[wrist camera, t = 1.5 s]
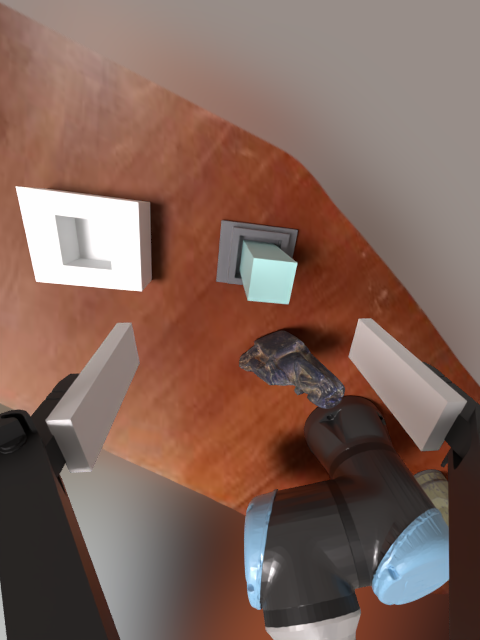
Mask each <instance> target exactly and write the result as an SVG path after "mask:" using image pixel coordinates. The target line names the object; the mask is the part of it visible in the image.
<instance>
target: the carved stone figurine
mask: <svg viewBox="0 0 480 640" xmlns="http://www.w3.org/2000/svg"><path fill="white" fill-rule="evenodd" d="M254 343H255V345H254V346H253V347H252V348H251V349H249V350H248V351H247V352H246V353H245V354H243V355H242V356H241V357H240V360H239V367H241V368H242V369H244V370H246V371H252V372H254V373H255V374H256V375H257V376H258V377H259V378H261V379H262V380H264V381H265V382H266V383H268V384H269V385H283V386H284V385H294V386H296V387H295V390H294V391H295V393H296V394H297V395H300V394H303V393H306V394H308V396H307V398H308V399H309V400H310V401H311V402H312V403H314V404H315V405H317V406H319V407H321V408H323V409H330V408H333V407H335V406H337V405H338V404H339V403H340V402H341V400H342V397H343V396H344V392H345V387H344V385H343V384H342V383H341V382H340V380H339V379H338V378H337V377H336V376H335V375H334V374H332V373H331V372H330V371H329V370H328V369H327V368H326V367H325V366H324V365H323V364H322V363H320V362H319V361H318V360H317V359H316V358H315V357H314V356H313V355H312V354H311V353H310V351H309V349H308V348H307V347H306V346H305V345H304V343H303V342H302V341H301V340H299V339H298V338H297V337H295V336H294V335H292V334H290V333H288V332H286V331H277V332H274V333H272V334H269V335H267V336H264V337H262V338H260V339H258V340H256V341H255V342H254Z"/></svg>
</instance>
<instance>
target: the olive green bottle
mask: <svg viewBox="0 0 480 640" xmlns="http://www.w3.org/2000/svg"><path fill="white" fill-rule="evenodd" d="M414 478H415V479H416V480H417V482H418V483H419V485H420V486H421V487H422V489H423V490H424V492H425V493H426V494H427V496H428V497H429V499H430V500H431V501H432V503H433V504H434V506H435V507H436V508H437V509H438V510H439V511H440V512H441V514H442V518H443V519H444V521H445V522H446V524H447V526H448V527H449V512H448V481H447V479H446V478H445V476H444V475H443V474H442V473H441V472H440V471H438V470H425V471H422V472H419V473H417V474H415V475H414Z"/></svg>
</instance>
